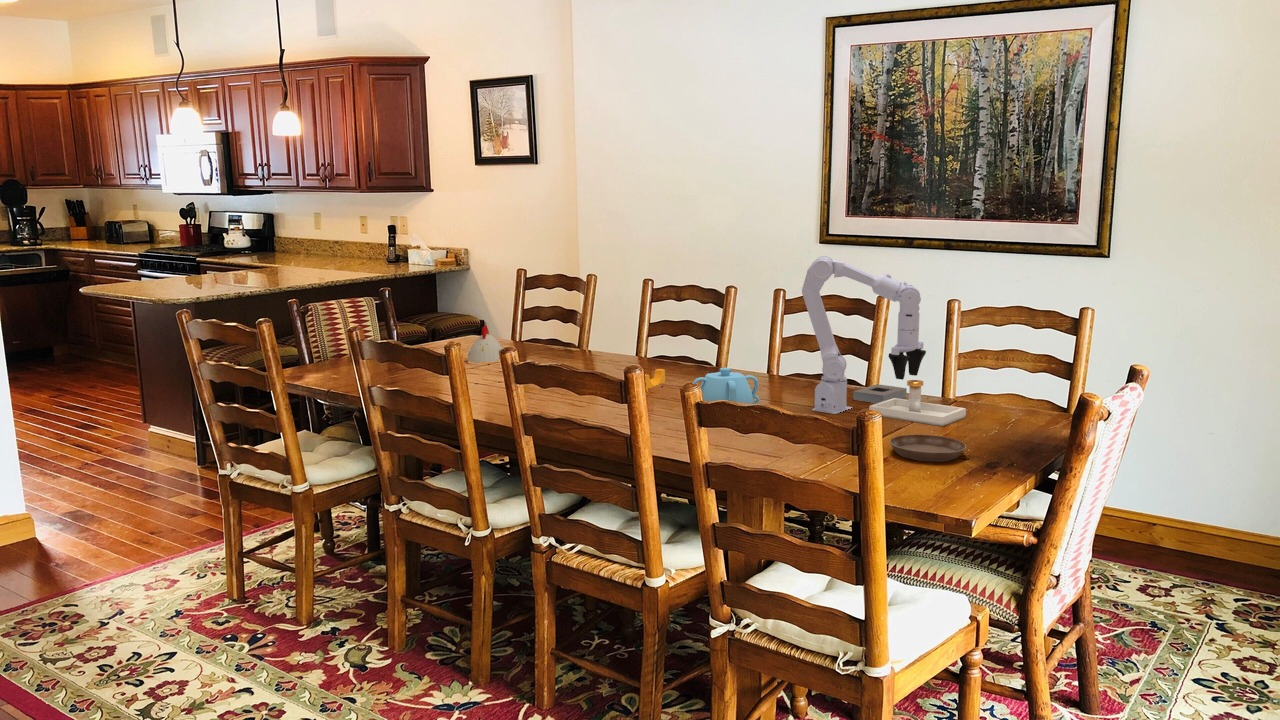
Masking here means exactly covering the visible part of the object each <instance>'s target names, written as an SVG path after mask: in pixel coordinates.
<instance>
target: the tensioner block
mask: <svg viewBox="0 0 1280 720" xmlns="http://www.w3.org/2000/svg"><path fill="white" fill-rule="evenodd" d="M852 392H853V394H852V395H853V396H852V400H853V399H854V400H859V401H865V402H871V403H870V404H872V403H876V404H877V403H880V402H883V401H886V400H890V399H893V398H897V399H904V400H905V399H907V392H908V391H907V387H901V386H894V385H886V384H873V385H869V386H865V387H864V388H859V389H856V390H853V391H852ZM859 401H858V402H859ZM865 402H864V403H865Z"/></svg>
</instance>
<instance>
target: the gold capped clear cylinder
mask: <svg viewBox="0 0 1280 720" xmlns="http://www.w3.org/2000/svg"><path fill="white" fill-rule="evenodd" d="M906 386H908V387H909V388H908V389H909V391H908V400H909V411H911V412H918V413H921V402H922V387H923V386H924V381H923V380H920V379H911V380H910V379H909V380H907V381H906Z"/></svg>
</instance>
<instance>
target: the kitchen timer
mask: <svg viewBox="0 0 1280 720" xmlns="http://www.w3.org/2000/svg"><path fill="white" fill-rule="evenodd" d="M501 349H504V346H501V344H500V342H499V341H498V340H497V339H496V338H495V337H494V336H493V335H490V330H489V328H488V325H484V326H483V327H482V331H481V335H480V336H478V337H477V338H476V339H475V341H474V342H473V344H472V345H471V347H470V348H468V352H467V353H468V354H467V362H468V361H470V362H474V363H480V362H493V361H497V360H498V362H499V351H500V350H501Z"/></svg>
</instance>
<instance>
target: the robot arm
mask: <svg viewBox="0 0 1280 720" xmlns="http://www.w3.org/2000/svg"><path fill="white" fill-rule="evenodd" d="M833 275H834V276H833ZM831 276H833V278H843V277H844V278H847V279H850V280H853V281H856V282H859V283H861V284H863V285H866V286H868V287H871V289H872V292H873V293H874V294H876V295H878V296H880V297H882V298H885V299H887V300H890V301H891V302H898V303H899V312H898V314H897V341H896V344H895V345H894V346H893V347H891V351H890V353H888V358H889V360H890V361H891V364H892V367H893V371H894V376H895V379H896V380H904V379H905V375H906V367H908V375H909V376H918V374H919V369H920V366H921V363H922V361H923V359H924V357H925V356H926V354H927V350H925V349H924V342H923V341H919V338H920V337H919V335H920V334H919V332H920V316H921V315H920V312H919V311H920V303H921V302H922V301H921V300H922V298H921V294H920V293H921V292H920V290H919V289H918V288H917V287H916V286H914V285H912V284H908V282H906V281H903V282H902V281H899V280H898V279H894V278H892V274H888V273H887V274H886V275H885V274H879V275H877V276H876V275H874V274H871V273H869V272H867V271H865V270H863V269H860V268H858V267H856V266H854V265H852V264H850V263H848V262H845V261H843V260H839V259H837V258H833V259H832V258H831V257H829V256H827V255H826V256H825V255H824V256H819V257H817V258H816V259H815V260H814V261H813V262H812V263H811V265H810V266H809V267H808V269H807V270H806V274H805V278H804V281H803V284H802V287H801V294H802V297H803V300H804V303H805V307H806V309H807V312H808V313H807V314H808V317H809V319H810V322H811V325H812V328H813V331H814V336H815V338H816V340H817V343H818V347H819V351H820V357H821V361H822V368H821V369H822V370H821V371H822V374H823V375H821V380H820V382H819V383H818V384H817V385H816V386H815V388H814V407H813V408H811V411H812V412H813V411H814V412H820V413H824V414H825V413H826V414H832V415H837V414H840V412H841V413H843V411H844V412H846V411H845V410H847V411H849V410H848V409H850V410H852V409H853V407H852V406H847V401H848V400H847V397H848V396H847V395H848V394H847V393H848V392H847V391H848V389H847V388H848V377H847V376H846V375H845V373H846V369H847V361H846V358H845V357H844V356H842V354H841V353H840V350H839V347H838V345H837V343H836V340H835V336H834V334H833V331H832V328H831V324H830V321H829V318H828V315H827V311H826V308H825V306H824V302H823V299H822V297H821V294H820V291H821V290H822V288H823V287H824V285H825V283H826V281H828V280H829V279H830V278H831ZM907 364H908V366H907ZM851 408H852V409H851Z"/></svg>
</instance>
